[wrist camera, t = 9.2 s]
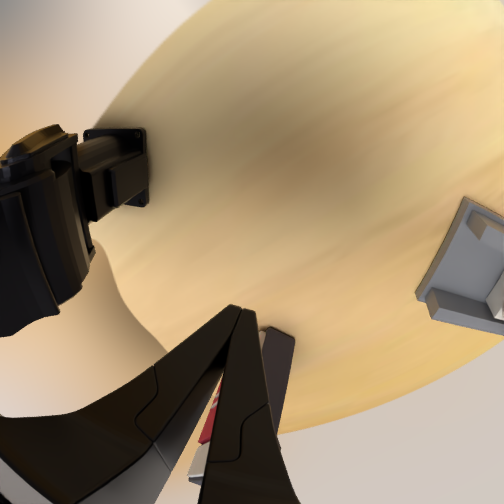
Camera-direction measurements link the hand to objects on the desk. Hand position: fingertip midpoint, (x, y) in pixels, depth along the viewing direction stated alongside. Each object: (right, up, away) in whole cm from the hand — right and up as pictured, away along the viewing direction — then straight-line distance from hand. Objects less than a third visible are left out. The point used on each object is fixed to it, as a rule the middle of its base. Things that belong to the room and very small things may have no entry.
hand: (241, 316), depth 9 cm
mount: (+20, +1, +9) cm, 22 cm away
